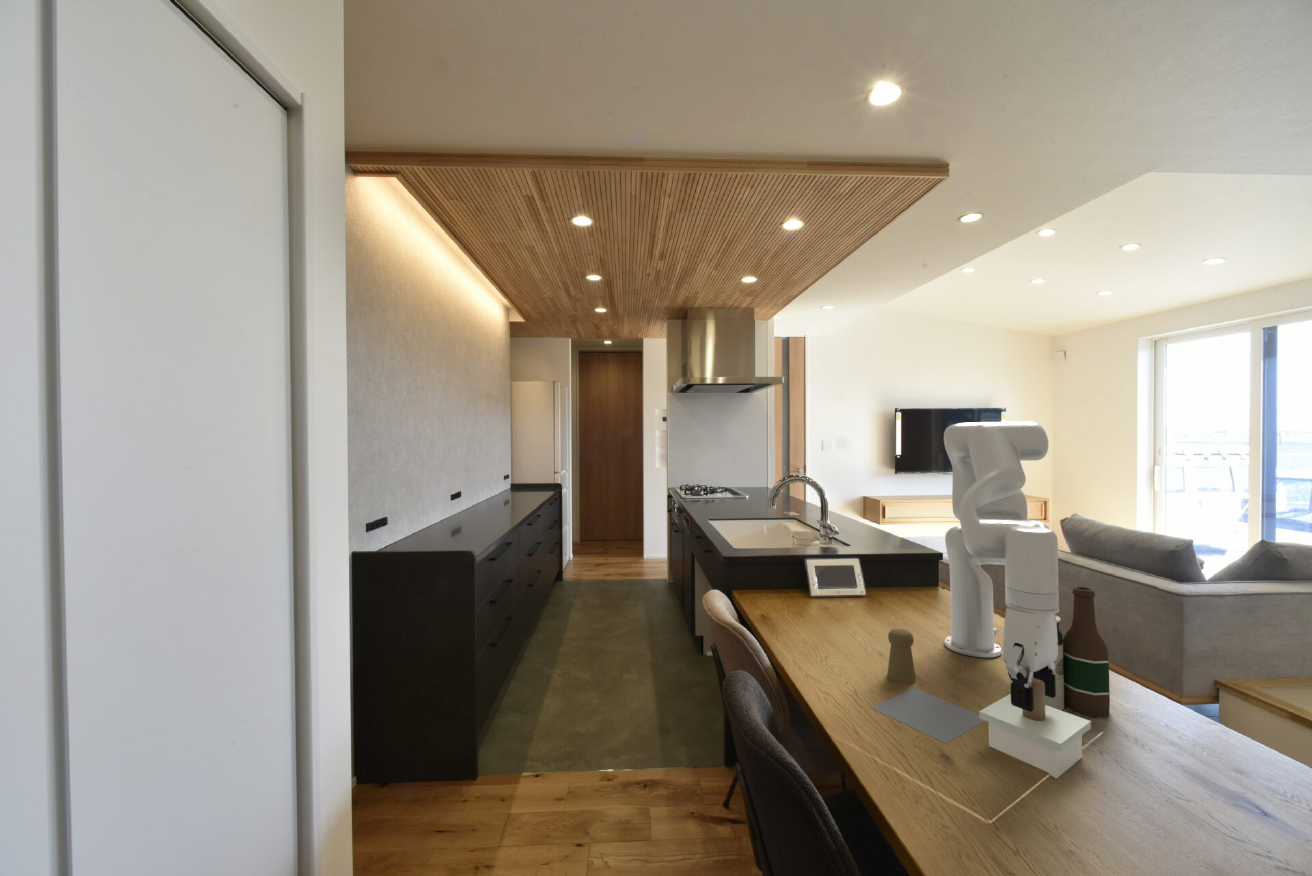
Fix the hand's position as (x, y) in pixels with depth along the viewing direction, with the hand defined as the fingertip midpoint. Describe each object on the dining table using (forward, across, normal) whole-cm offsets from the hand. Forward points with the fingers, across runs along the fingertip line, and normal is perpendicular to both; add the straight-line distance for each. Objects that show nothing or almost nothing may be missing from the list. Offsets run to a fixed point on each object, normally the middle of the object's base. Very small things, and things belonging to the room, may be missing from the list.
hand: (1033, 700), depth 90 cm
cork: (+9, -7, -29) cm, 31 cm away
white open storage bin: (+9, 0, 0) cm, 9 cm away
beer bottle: (+9, -25, -1) cm, 27 cm away
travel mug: (+9, -20, -7) cm, 23 cm away
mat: (+9, +3, -17) cm, 19 cm away
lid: (+4, 0, 0) cm, 4 cm away
